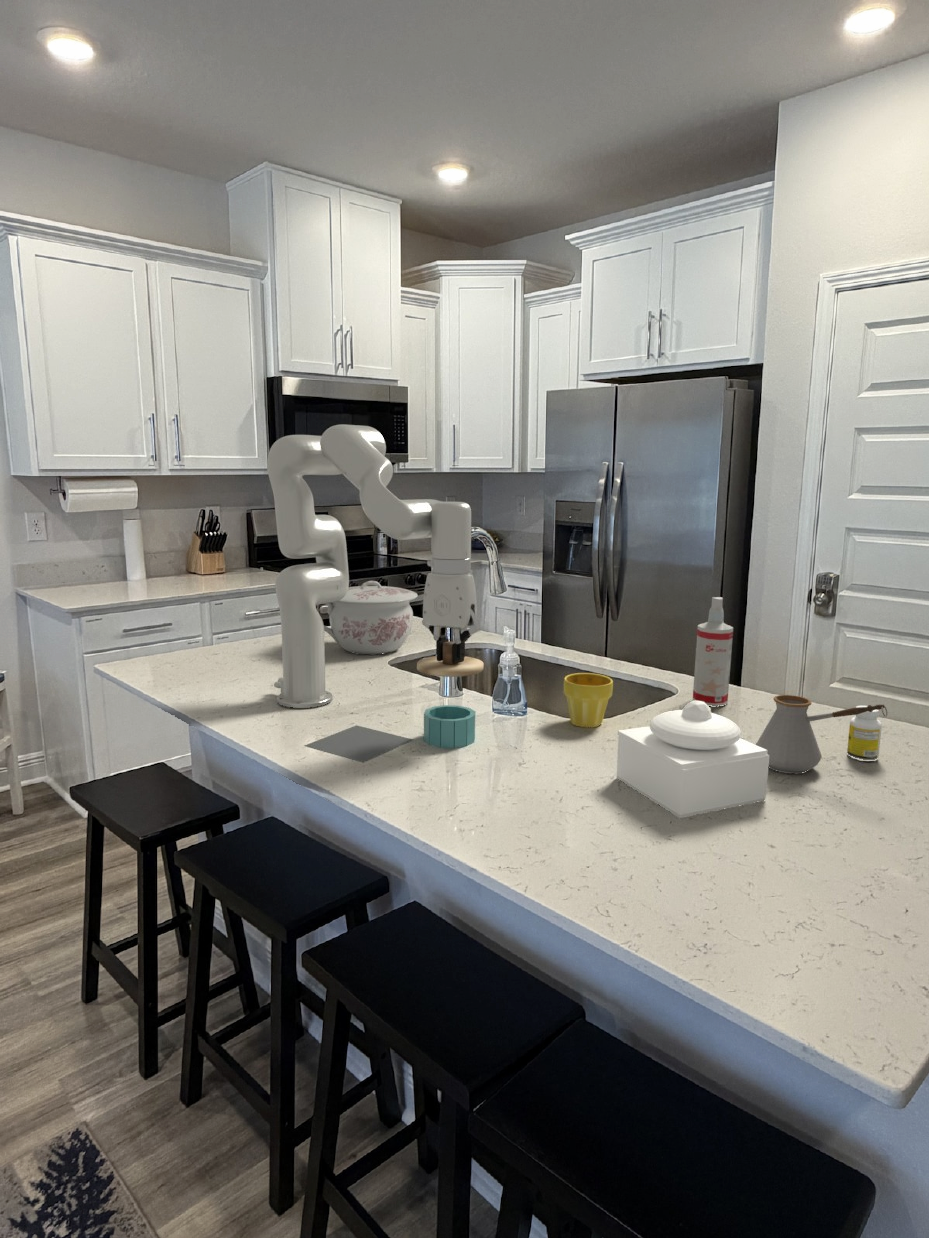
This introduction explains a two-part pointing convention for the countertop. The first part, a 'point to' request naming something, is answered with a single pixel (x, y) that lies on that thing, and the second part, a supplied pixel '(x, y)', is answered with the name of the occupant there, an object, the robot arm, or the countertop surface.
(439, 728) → the bowl
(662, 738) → the white square canister
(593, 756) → the countertop surface
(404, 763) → the countertop surface
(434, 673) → the lid
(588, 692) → the plant pot
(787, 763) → the coffee pot
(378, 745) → the mat
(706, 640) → the spray bottle
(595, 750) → the countertop surface
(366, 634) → the chamber pot
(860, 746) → the supplement bottle
